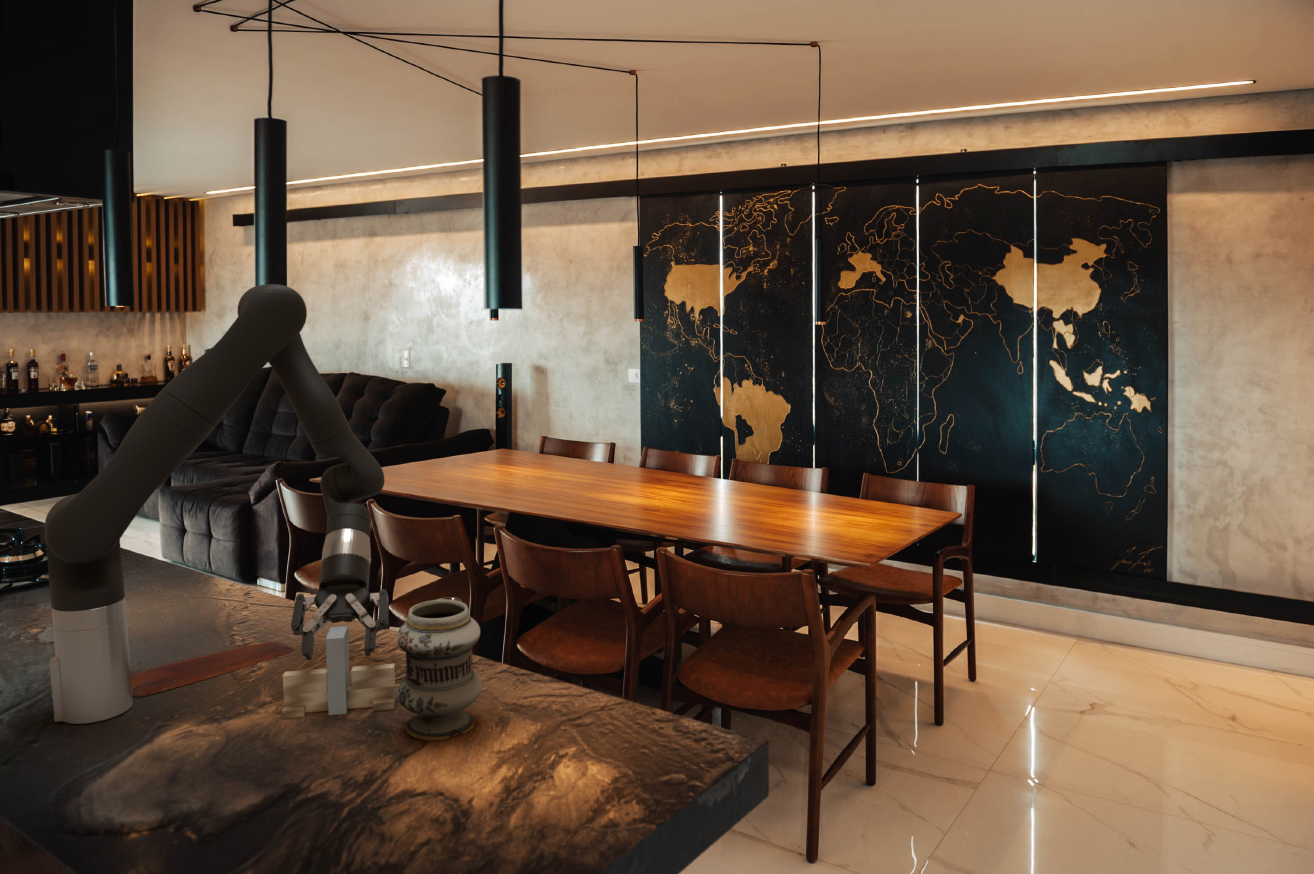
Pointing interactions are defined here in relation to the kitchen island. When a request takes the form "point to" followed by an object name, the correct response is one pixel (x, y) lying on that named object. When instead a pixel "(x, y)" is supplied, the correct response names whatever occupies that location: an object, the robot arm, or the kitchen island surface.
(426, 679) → the apothecary jar
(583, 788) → the kitchen island surface
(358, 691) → the birch slotted board
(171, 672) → the wooden tablet
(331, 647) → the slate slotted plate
